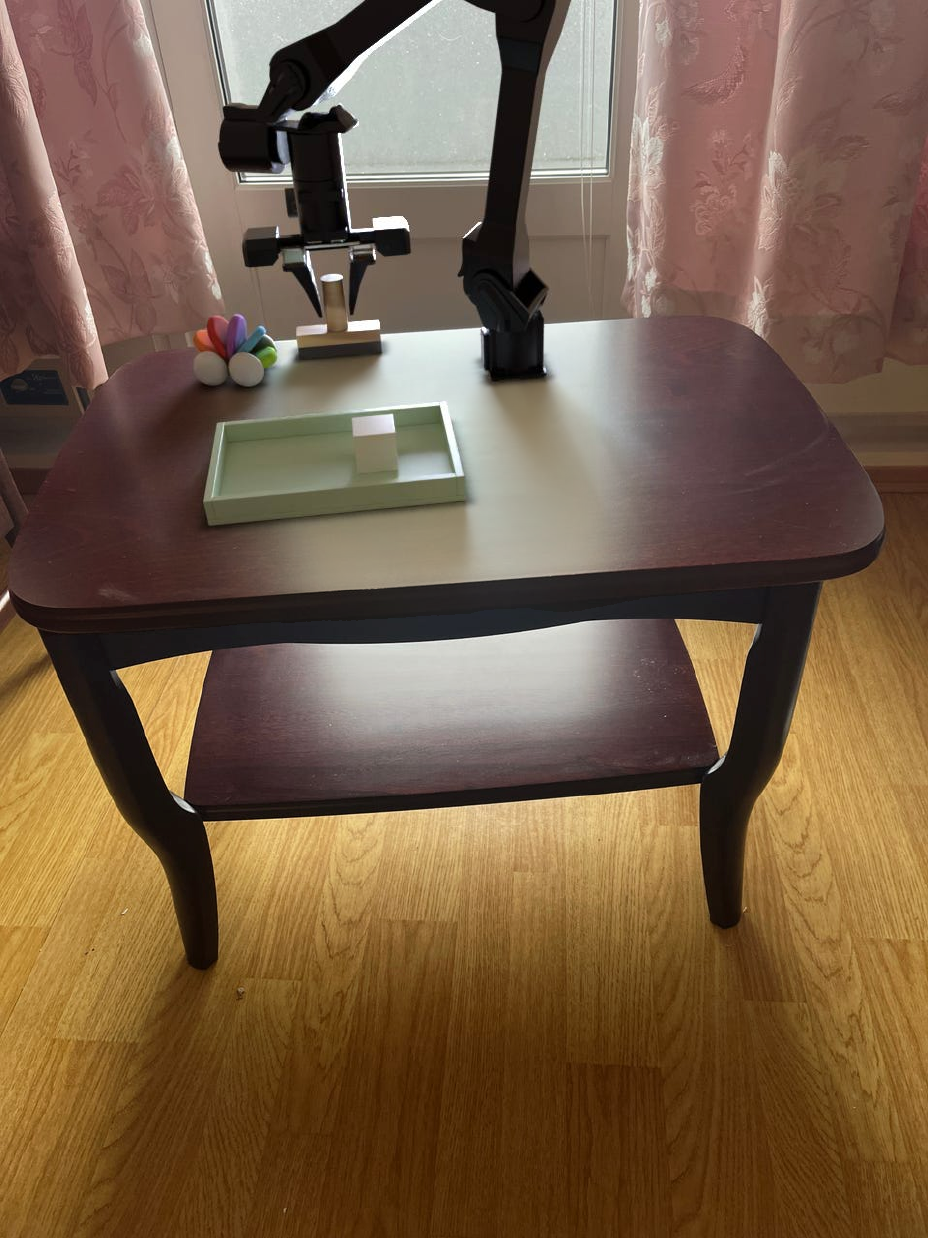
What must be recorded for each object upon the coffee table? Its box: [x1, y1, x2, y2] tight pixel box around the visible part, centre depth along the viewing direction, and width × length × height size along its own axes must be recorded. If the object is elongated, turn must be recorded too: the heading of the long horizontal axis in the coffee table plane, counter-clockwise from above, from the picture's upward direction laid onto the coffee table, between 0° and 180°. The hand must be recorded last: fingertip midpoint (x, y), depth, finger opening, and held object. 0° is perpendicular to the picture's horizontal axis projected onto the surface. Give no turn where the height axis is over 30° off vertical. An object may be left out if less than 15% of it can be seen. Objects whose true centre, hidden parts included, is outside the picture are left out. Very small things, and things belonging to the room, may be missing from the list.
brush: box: [295, 273, 383, 361], centre depth 113 cm, size 3×10×9 cm, turn 97°
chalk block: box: [352, 414, 399, 474], centre depth 92 cm, size 4×4×4 cm
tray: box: [202, 401, 467, 527], centre depth 92 cm, size 24×16×3 cm, turn 97°
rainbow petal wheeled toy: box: [192, 313, 278, 387], centre depth 110 cm, size 8×10×7 cm
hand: (336, 315), depth 113 cm, fingers open, 3 cm apart
